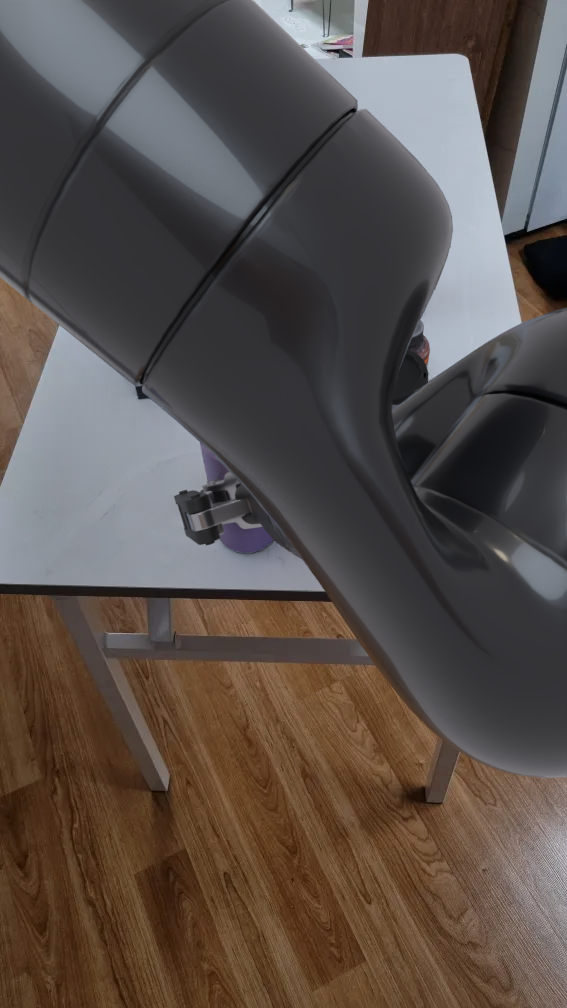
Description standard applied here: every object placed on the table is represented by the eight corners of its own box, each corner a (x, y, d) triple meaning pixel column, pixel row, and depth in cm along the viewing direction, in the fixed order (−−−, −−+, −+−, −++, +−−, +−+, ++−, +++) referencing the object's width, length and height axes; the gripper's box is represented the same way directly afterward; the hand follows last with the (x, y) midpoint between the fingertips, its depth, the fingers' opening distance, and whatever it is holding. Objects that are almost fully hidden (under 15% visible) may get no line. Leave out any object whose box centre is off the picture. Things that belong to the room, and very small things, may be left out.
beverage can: (277, 556, 70) (267, 452, 58) (216, 557, 70) (194, 453, 58) (278, 507, 73) (269, 400, 62) (220, 508, 74) (200, 402, 62)
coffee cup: (406, 517, 72) (422, 410, 60) (325, 500, 74) (324, 393, 62) (422, 456, 77) (439, 346, 65) (345, 442, 79) (348, 332, 67)
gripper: (469, 366, 33) (359, 392, 49) (171, 457, 31) (157, 453, 46) (508, 521, 34) (388, 497, 50) (223, 620, 32) (191, 562, 47)
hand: (277, 476), depth 48 cm, fingers open, 8 cm apart
